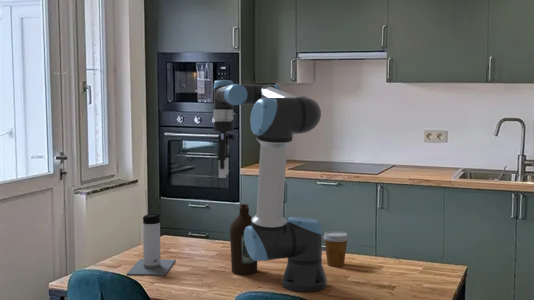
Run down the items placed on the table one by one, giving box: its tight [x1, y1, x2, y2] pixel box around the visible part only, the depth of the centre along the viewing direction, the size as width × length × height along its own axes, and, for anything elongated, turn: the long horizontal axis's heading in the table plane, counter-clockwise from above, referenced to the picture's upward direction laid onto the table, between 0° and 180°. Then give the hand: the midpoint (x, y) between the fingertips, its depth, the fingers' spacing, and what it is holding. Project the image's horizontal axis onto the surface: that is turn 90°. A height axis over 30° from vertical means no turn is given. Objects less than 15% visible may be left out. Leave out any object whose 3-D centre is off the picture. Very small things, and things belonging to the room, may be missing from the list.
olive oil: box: [229, 203, 258, 276], centre depth 242 cm, size 11×11×25 cm
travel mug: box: [142, 212, 162, 268], centre depth 247 cm, size 6×7×20 cm
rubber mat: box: [126, 258, 176, 277], centre depth 248 cm, size 20×14×1 cm
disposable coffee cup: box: [322, 231, 349, 268], centre depth 252 cm, size 10×10×12 cm
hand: (223, 176), depth 255 cm, fingers open, 13 cm apart
